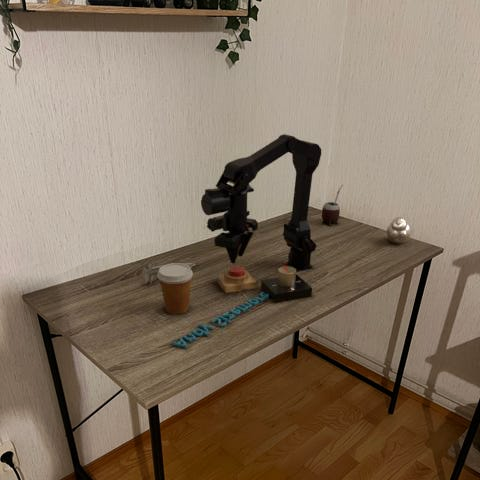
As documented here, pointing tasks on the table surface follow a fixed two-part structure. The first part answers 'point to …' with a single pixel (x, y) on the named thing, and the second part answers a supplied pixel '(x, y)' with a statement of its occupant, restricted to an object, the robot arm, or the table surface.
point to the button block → (236, 282)
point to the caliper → (155, 272)
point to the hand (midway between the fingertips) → (236, 259)
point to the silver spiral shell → (399, 230)
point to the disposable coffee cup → (175, 286)
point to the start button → (236, 271)
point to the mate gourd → (331, 211)
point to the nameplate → (205, 327)
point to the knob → (286, 276)
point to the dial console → (286, 290)
